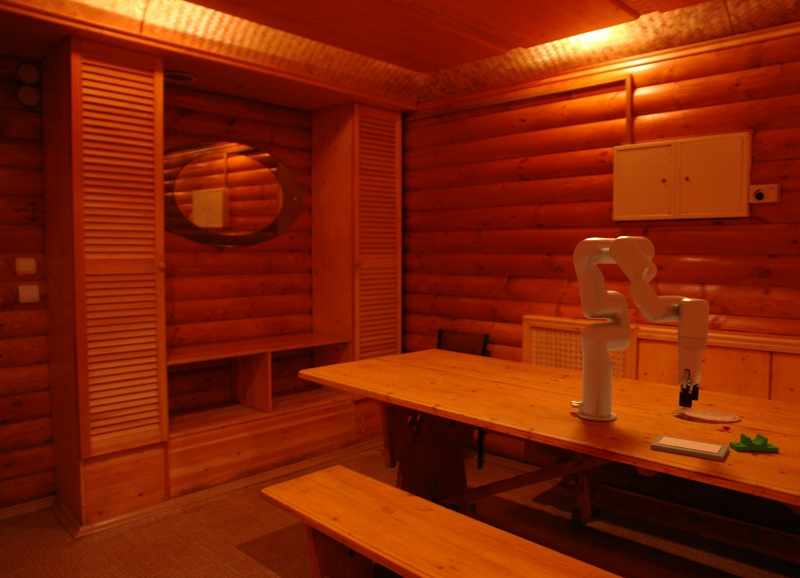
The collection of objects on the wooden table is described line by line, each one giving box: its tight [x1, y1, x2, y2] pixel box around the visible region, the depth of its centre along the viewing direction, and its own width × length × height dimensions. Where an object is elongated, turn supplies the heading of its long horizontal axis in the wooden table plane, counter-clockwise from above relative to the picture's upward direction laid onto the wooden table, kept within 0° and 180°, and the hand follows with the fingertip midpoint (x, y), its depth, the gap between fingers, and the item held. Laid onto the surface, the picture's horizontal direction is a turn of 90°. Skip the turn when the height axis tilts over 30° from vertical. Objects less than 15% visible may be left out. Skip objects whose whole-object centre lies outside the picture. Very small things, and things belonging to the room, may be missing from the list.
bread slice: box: [670, 407, 742, 424], centre depth 202 cm, size 18×18×4 cm
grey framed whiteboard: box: [650, 434, 730, 462], centre depth 170 cm, size 18×12×1 cm, turn 55°
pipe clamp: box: [728, 433, 780, 453], centre depth 170 cm, size 11×4×5 cm
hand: (688, 403), depth 170 cm, fingers open, 9 cm apart
